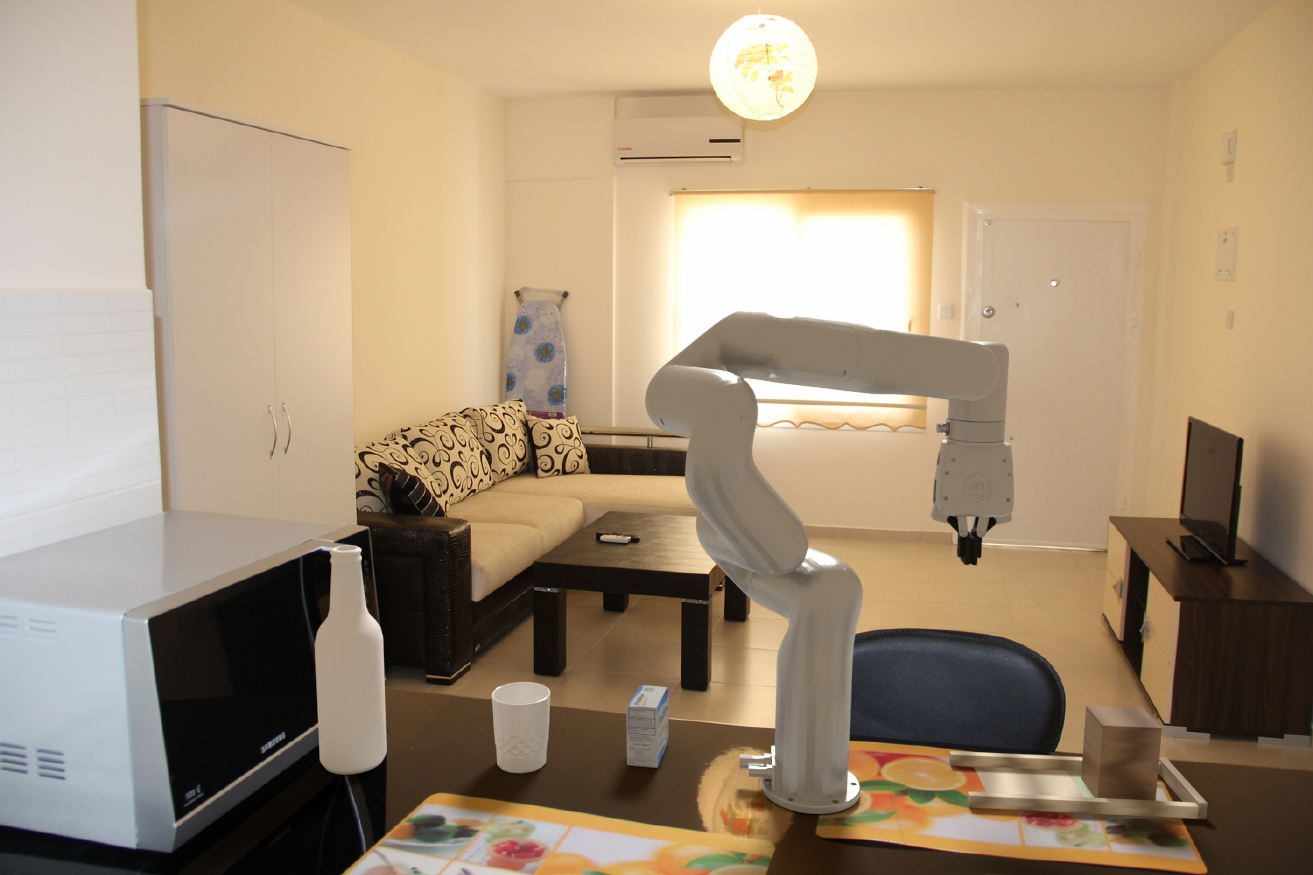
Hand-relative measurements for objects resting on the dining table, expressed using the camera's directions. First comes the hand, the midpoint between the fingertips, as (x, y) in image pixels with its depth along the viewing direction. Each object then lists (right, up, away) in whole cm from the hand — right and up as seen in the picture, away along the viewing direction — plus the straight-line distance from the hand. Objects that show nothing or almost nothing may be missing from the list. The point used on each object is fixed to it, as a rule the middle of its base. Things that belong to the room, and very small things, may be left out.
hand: (968, 562), depth 138 cm
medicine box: (-45, -27, +1) cm, 52 cm away
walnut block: (+15, -28, -12) cm, 34 cm away
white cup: (-62, -27, -2) cm, 68 cm away
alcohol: (-85, -27, -2) cm, 89 cm away
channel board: (+10, -29, -11) cm, 32 cm away
